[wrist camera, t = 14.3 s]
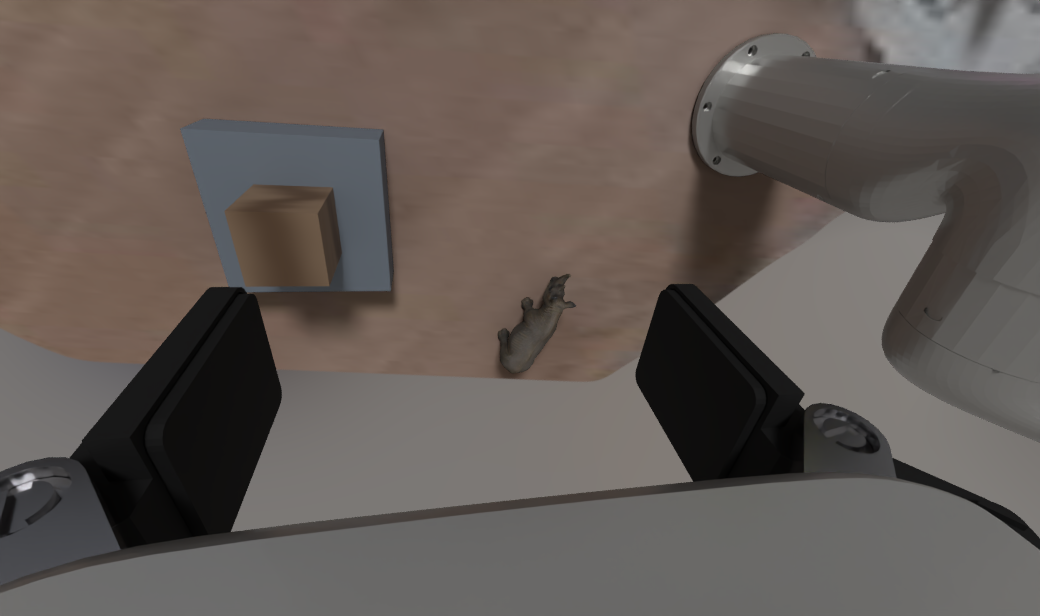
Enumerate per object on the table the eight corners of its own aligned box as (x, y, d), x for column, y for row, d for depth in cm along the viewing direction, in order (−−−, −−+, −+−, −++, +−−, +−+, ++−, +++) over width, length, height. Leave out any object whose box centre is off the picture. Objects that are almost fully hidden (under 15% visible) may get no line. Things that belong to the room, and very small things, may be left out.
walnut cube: (332, 187, 36) (317, 213, 31) (342, 252, 39) (329, 286, 34) (253, 184, 35) (224, 211, 30) (269, 252, 38) (245, 286, 33)
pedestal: (383, 129, 38) (378, 139, 35) (393, 271, 45) (390, 290, 42) (203, 118, 35) (180, 128, 32) (246, 271, 43) (230, 292, 39)
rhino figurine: (579, 270, 49) (595, 297, 44) (515, 355, 55) (523, 389, 50) (550, 255, 48) (564, 281, 43) (487, 345, 53) (493, 378, 48)
